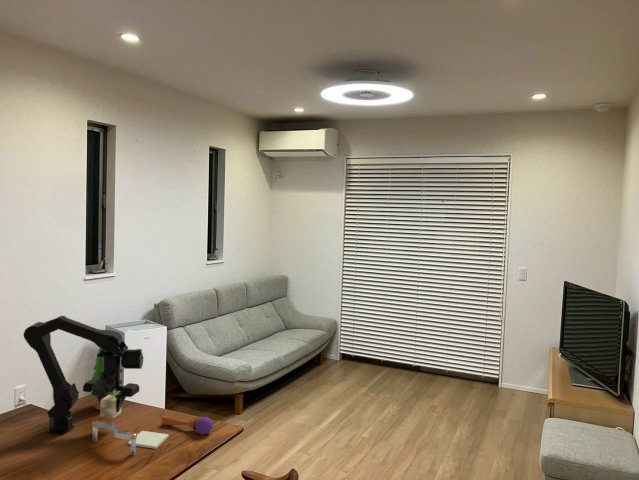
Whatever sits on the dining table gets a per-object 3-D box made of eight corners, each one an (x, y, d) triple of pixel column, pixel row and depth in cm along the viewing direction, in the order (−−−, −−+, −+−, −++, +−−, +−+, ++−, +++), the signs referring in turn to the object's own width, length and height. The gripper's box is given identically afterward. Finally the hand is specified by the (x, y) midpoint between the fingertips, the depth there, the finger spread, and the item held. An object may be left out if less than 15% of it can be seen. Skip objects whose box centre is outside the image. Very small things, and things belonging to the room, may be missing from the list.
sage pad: (128, 444, 170) (128, 442, 170) (142, 432, 179) (142, 430, 179) (155, 448, 169) (155, 446, 169) (168, 436, 178) (168, 434, 178)
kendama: (169, 410, 190) (216, 416, 184) (168, 426, 190) (215, 433, 183) (159, 413, 185) (207, 419, 178) (158, 430, 184) (206, 437, 177)
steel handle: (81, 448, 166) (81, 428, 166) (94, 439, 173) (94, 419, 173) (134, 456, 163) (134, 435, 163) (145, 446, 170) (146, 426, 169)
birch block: (100, 416, 178) (100, 400, 178) (108, 411, 183) (108, 394, 183) (113, 418, 178) (113, 401, 177) (121, 412, 183) (121, 396, 182)
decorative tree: (98, 413, 193) (99, 336, 191) (84, 407, 198) (85, 331, 196) (120, 405, 201) (122, 331, 199) (106, 399, 207) (107, 327, 204)
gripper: (73, 372, 173) (72, 417, 174) (123, 378, 170) (122, 423, 171) (93, 362, 184) (92, 404, 185) (140, 368, 181) (139, 410, 182)
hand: (110, 411), depth 180 cm, fingers closed on birch block, 5 cm apart
